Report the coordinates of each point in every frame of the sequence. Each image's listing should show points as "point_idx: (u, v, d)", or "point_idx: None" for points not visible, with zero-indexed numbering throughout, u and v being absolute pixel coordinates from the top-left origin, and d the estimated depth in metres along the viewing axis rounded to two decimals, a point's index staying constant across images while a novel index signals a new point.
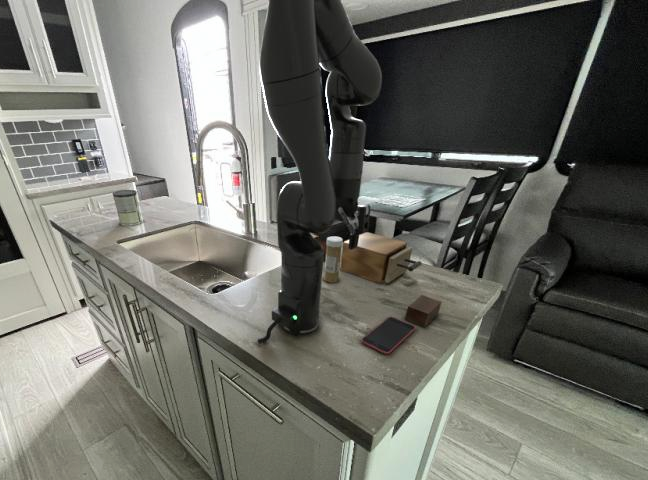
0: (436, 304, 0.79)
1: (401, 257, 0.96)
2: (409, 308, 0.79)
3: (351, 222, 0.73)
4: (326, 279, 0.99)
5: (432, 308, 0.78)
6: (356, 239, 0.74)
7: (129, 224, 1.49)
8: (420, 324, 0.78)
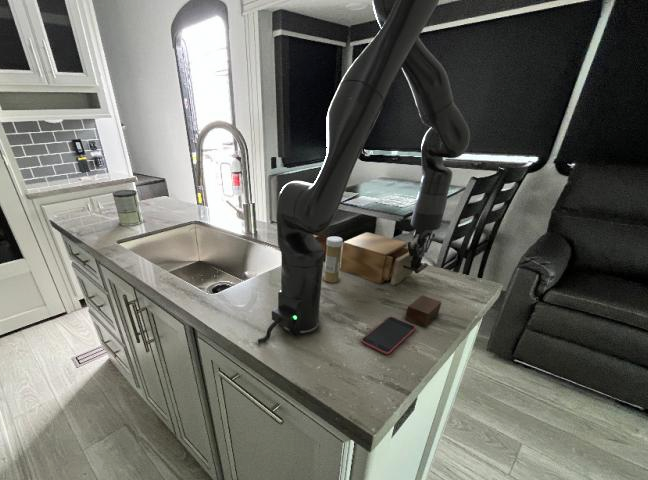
0: (436, 304, 0.79)
1: (407, 259, 0.95)
2: (409, 308, 0.79)
3: None
4: (326, 279, 0.99)
5: (432, 308, 0.78)
6: (413, 261, 0.93)
7: (129, 224, 1.49)
8: (420, 324, 0.78)
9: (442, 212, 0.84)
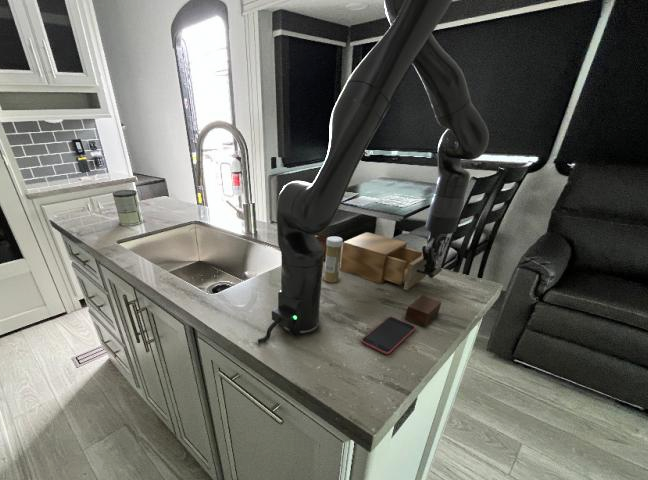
0: (436, 304, 0.79)
1: (421, 263, 0.93)
2: (409, 308, 0.79)
3: None
4: (326, 279, 0.99)
5: (432, 308, 0.78)
6: (427, 265, 0.91)
7: (129, 224, 1.49)
8: (420, 324, 0.78)
9: (458, 215, 0.81)
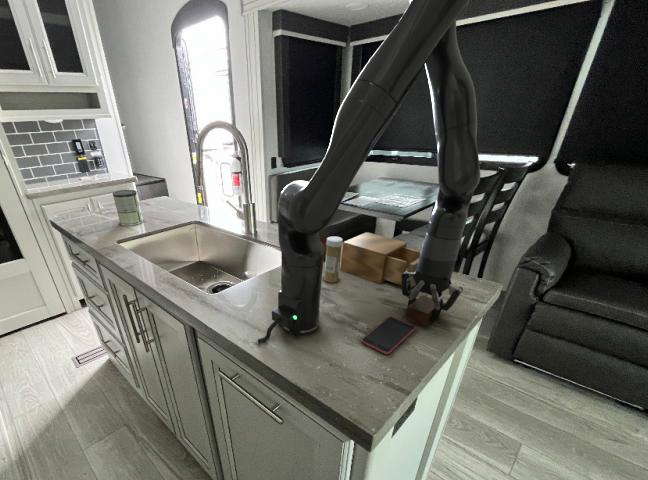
0: None
1: None
2: (409, 308, 0.79)
3: None
4: (326, 279, 0.99)
5: (432, 308, 0.78)
6: None
7: (129, 224, 1.49)
8: (420, 324, 0.78)
9: (430, 257, 0.71)
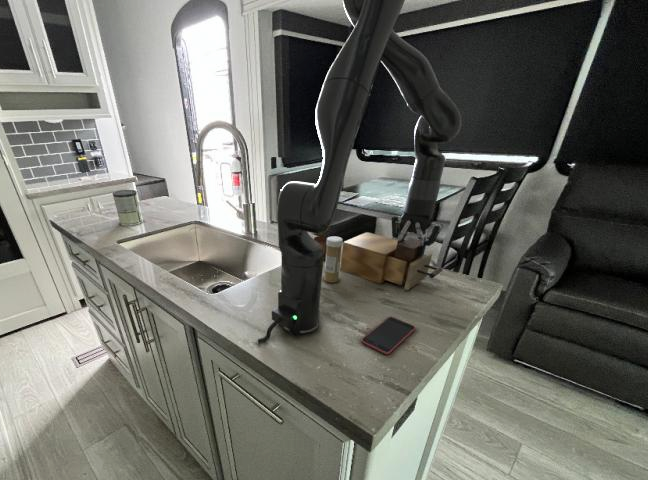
0: None
1: (422, 263, 0.93)
2: (398, 246, 0.92)
3: None
4: (326, 279, 0.99)
5: (417, 245, 0.91)
6: None
7: (129, 224, 1.49)
8: (407, 259, 0.91)
9: (414, 198, 0.84)
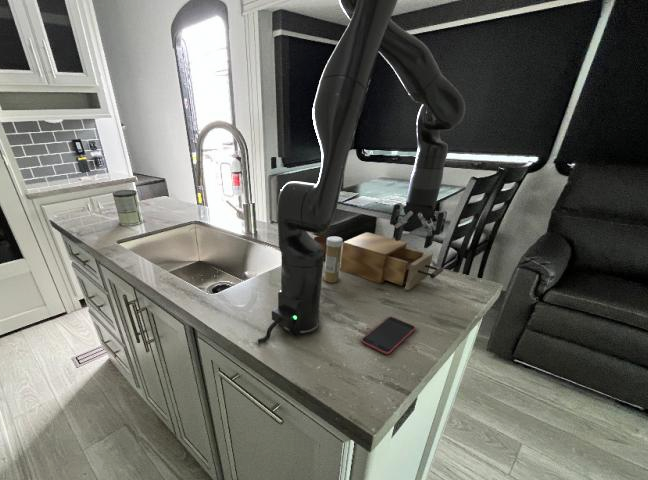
0: None
1: (422, 263, 0.92)
2: None
3: None
4: (326, 279, 0.99)
5: None
6: None
7: (129, 224, 1.49)
8: None
9: (417, 187, 0.83)
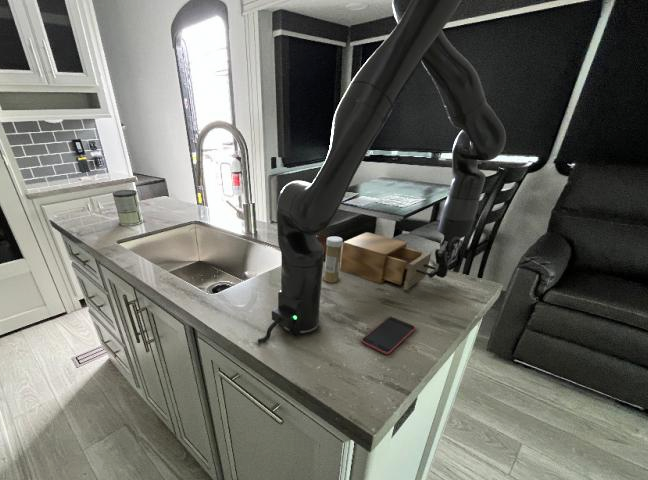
0: None
1: (421, 263, 0.93)
2: None
3: None
4: (326, 279, 0.99)
5: None
6: (440, 269, 0.88)
7: (129, 224, 1.49)
8: None
9: (473, 218, 0.79)
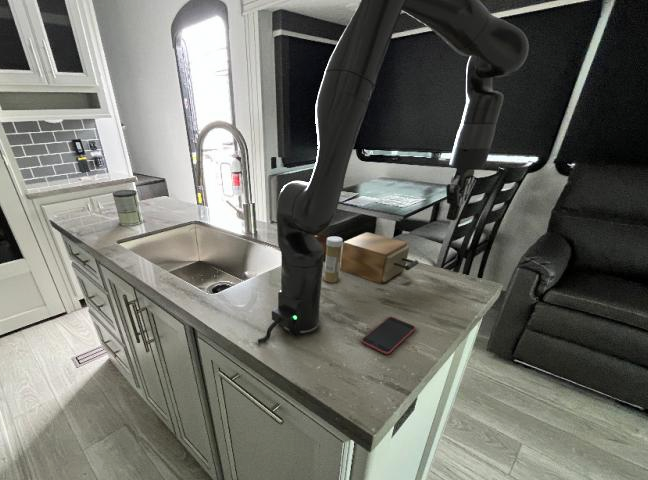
0: None
1: (398, 256, 0.97)
2: None
3: None
4: (326, 279, 0.99)
5: None
6: (451, 210, 0.81)
7: (129, 224, 1.49)
8: None
9: (489, 146, 0.72)
